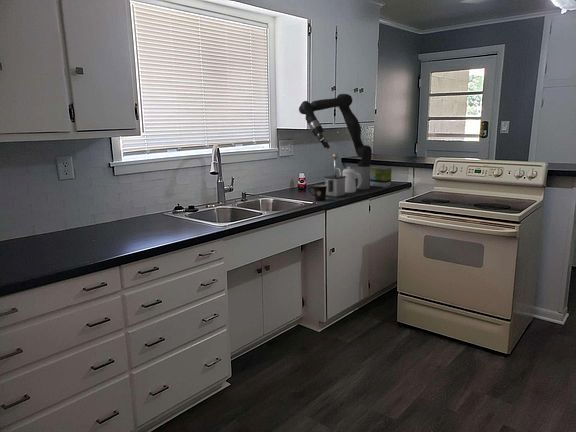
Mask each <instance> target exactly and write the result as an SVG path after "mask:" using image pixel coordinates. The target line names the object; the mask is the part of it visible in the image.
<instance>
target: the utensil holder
mask: <svg viewBox="0 0 576 432" xmlns="http://www.w3.org/2000/svg"><path fill="white" fill-rule="evenodd" d="M323 177H324V185H327V188H326V197H325V198H333V199H337V198H342V197H345V196H346V193H345V178H346V176H342V175H341V176H340V175H337V174H336V177H334V174H333V175H326V176H323Z"/></svg>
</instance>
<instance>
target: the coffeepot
mask: <svg viewBox="0 0 576 432" xmlns="http://www.w3.org/2000/svg"><path fill="white" fill-rule="evenodd" d="M336 170H338V171H339V176H346V178H345V194H352V193H353V194H354V193H356V192H357V189H358V187H359V186H360V185H361V183H362V177H361V175H360V174H359V173H358V172H356V171H355V169H354V168H351V166H347V168H344V169H343V170H341V169H340V168H339V167H336ZM341 171H342V173H341ZM358 174H359V175H360V177H359V175H358ZM356 175H357V178H358V177H359V184H360V185H359V184H358V183H357V184H356ZM360 178H361V182H360Z"/></svg>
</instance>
